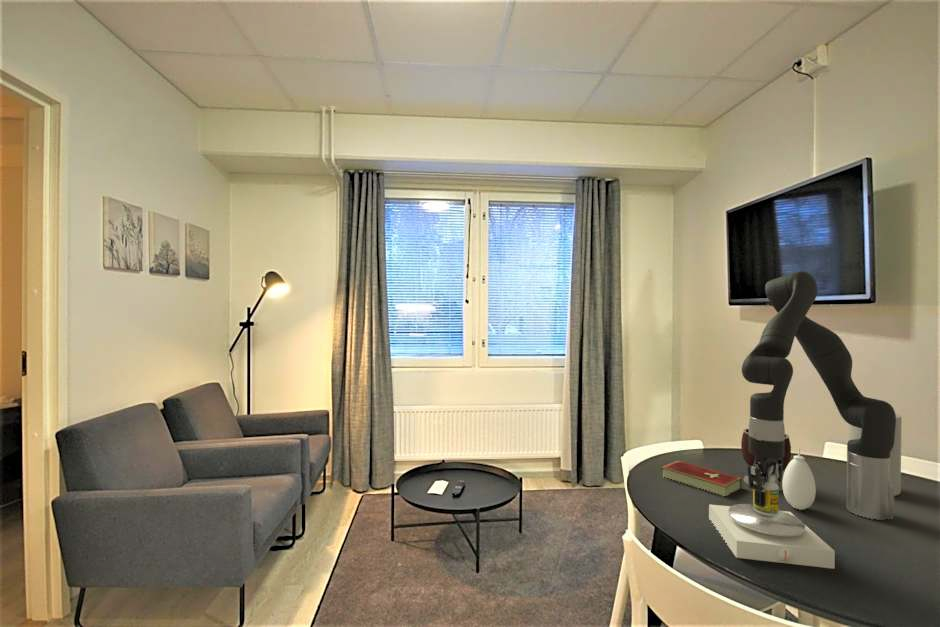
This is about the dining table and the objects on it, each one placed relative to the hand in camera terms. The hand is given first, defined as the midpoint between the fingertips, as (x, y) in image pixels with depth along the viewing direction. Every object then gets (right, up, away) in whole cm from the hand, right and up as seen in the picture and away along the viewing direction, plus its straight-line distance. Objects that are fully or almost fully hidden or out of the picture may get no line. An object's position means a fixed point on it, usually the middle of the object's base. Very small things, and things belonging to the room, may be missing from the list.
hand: (765, 502), depth 111 cm
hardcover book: (+4, -10, +38) cm, 40 cm away
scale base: (0, -10, 0) cm, 10 cm away
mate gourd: (+25, -10, +38) cm, 47 cm away
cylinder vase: (+58, -10, +34) cm, 68 cm away
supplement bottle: (0, -3, 0) cm, 3 cm away
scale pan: (0, -5, 0) cm, 5 cm away
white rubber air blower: (+22, -10, +19) cm, 31 cm away
